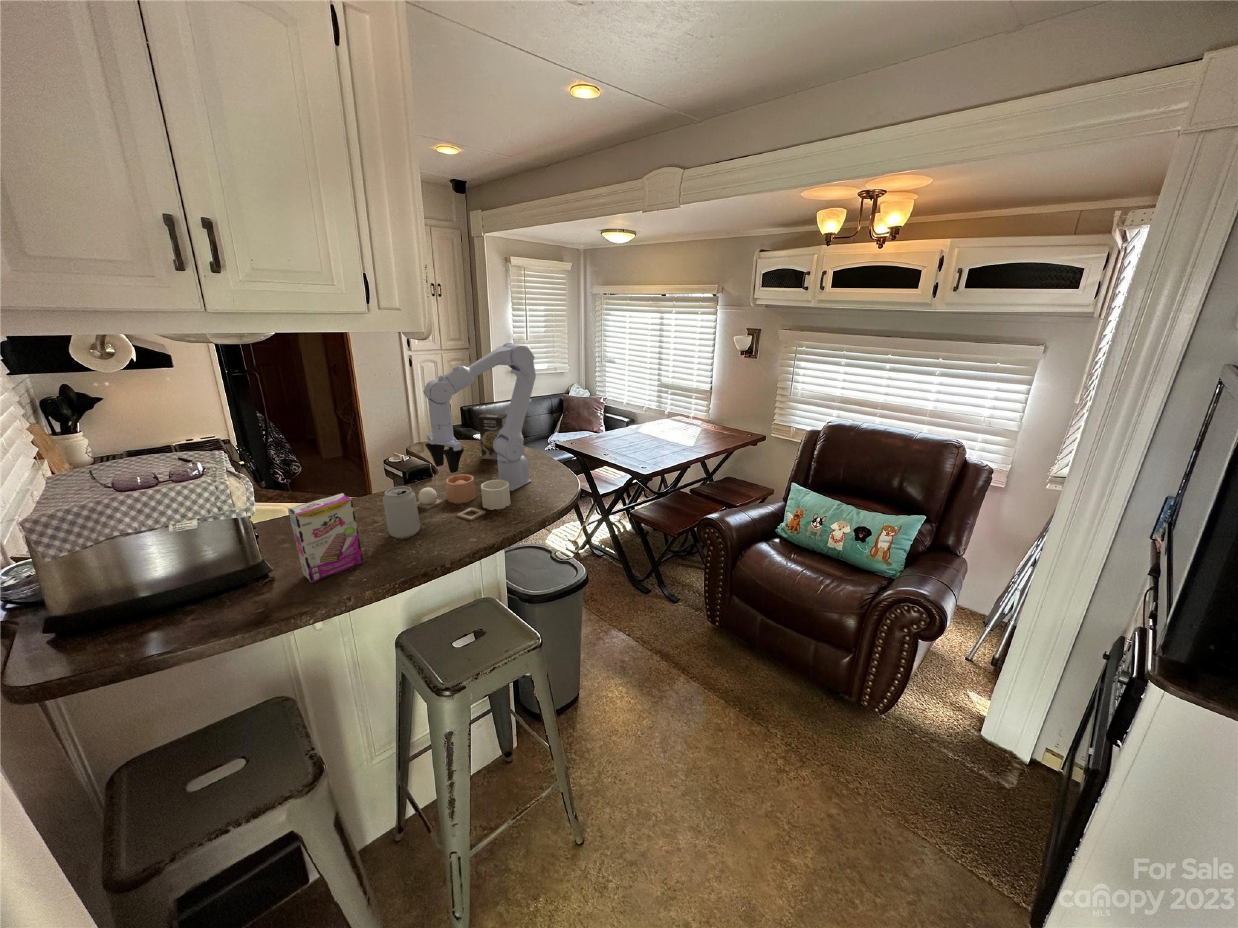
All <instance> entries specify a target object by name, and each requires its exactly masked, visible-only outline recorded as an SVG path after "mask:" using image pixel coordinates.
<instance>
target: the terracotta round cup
mask: <svg viewBox="0 0 1238 928" xmlns="http://www.w3.org/2000/svg"><path fill="white" fill-rule="evenodd" d="M459 480H463V481H465V483H458V484H454V483H455V482H456V481H459ZM445 487H446V494H447V502H449V503H453V504H456V503H457V504H464V503H466V504H467V503H469V502H471V501H473V500H475V499H476V488H475V487H476V486H475V477H474V475H471V474H466V473H465V474H463V473H462V474H454V475H452V476H449V477H447V478H446V481H445Z"/></svg>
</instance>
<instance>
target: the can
mask: <svg viewBox="0 0 1238 928" xmlns="http://www.w3.org/2000/svg"><path fill="white" fill-rule="evenodd" d="M416 497H417V496H416V493H415V492H414V491H413V490H412V488H411V487H410V486H406V485H399V486H394V487H390V488H388V489H386V490H385V491H384V496H383V497H382V504H383V509H384V514H385V520H386V525H387V531H388V535H389V536H391V537H393V538H395V539H407V538H411V537H413V536H415V535H416V534H417V533H418V532H419V531H420V529H421V523H420V522H421V521H420V518H419V517H420V516H419V509H418V506H417V499H416Z"/></svg>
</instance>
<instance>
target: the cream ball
mask: <svg viewBox="0 0 1238 928" xmlns="http://www.w3.org/2000/svg"><path fill="white" fill-rule="evenodd" d="M437 497H438V493H437V492H436V490H435V489H433V488H432V487H424V488H422V489H421V490H420V491H419V492H418V500H419V501H420V502H421V503H423V504H425V505H430V504H432V503H435V501H436V499H438V498H437Z"/></svg>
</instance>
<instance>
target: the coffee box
mask: <svg viewBox="0 0 1238 928" xmlns="http://www.w3.org/2000/svg"><path fill="white" fill-rule="evenodd" d="M507 414H508V413H496V412H495V413H493V412H492V413H491V412H485V413H482V414H480V415H479V416H478V418H477V419H478V427H479V439H480V448H481V450H480V451H481V458H482V459H485V460H497V456H498V455H497V453H496V452H495V450H494V449H493V442H494V440H495V439H496V437H497V436H498V434H499V431H500V430H501V429H502V428H503V427H504V425H505V421H506V417H507Z"/></svg>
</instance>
